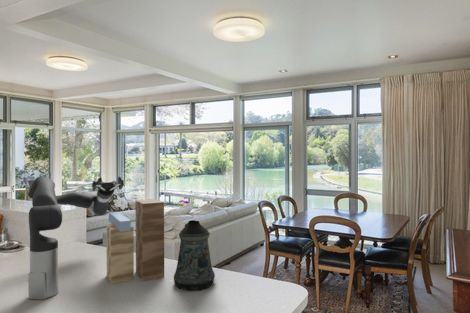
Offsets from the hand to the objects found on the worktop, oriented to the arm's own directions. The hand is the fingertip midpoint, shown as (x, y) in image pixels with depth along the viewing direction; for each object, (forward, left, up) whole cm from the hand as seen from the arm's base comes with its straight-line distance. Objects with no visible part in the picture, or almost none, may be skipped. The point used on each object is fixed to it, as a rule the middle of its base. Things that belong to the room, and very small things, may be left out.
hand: (110, 178), depth 159 cm
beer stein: (-19, -43, -41) cm, 63 cm away
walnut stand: (-11, -23, -41) cm, 48 cm away
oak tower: (-16, -11, -41) cm, 45 cm away
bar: (-15, -10, -19) cm, 26 cm away
